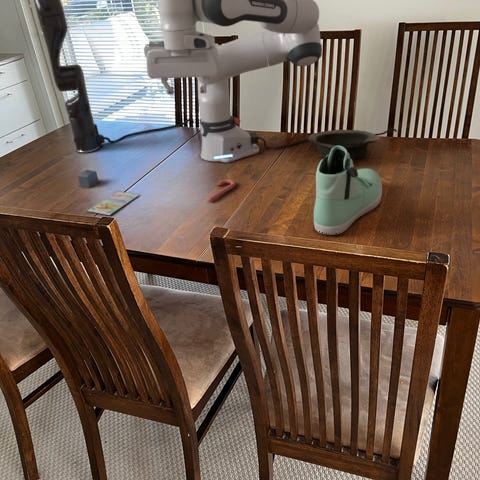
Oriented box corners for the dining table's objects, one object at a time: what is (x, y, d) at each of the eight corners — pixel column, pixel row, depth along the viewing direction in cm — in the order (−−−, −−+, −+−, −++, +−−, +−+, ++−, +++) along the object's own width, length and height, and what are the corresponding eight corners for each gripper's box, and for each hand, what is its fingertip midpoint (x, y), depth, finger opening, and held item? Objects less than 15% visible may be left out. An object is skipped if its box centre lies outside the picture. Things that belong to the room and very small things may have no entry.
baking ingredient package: (86, 209, 148) (117, 190, 160) (87, 211, 148) (117, 191, 160) (109, 214, 145) (139, 194, 156) (109, 215, 145) (139, 195, 156)
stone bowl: (336, 174, 158) (335, 147, 154) (295, 157, 179) (293, 133, 174) (394, 156, 167) (394, 130, 163) (348, 141, 187) (348, 118, 183)
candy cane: (196, 199, 151) (195, 195, 150) (224, 181, 161) (224, 177, 160) (211, 203, 148) (210, 199, 147) (239, 184, 158) (238, 180, 157)
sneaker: (389, 187, 148) (396, 123, 138) (356, 242, 123) (361, 168, 112) (346, 181, 154) (350, 119, 144) (306, 232, 129) (307, 161, 118)
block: (80, 186, 166) (77, 175, 164) (89, 180, 170) (86, 169, 168) (89, 187, 164) (86, 176, 162) (98, 182, 168) (96, 171, 166)
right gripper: (139, 44, 125) (147, 97, 132) (215, 40, 122) (220, 95, 129) (146, 40, 130) (154, 91, 138) (219, 36, 127) (224, 89, 135)
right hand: (187, 93), depth 133 cm, fingers open, 8 cm apart
